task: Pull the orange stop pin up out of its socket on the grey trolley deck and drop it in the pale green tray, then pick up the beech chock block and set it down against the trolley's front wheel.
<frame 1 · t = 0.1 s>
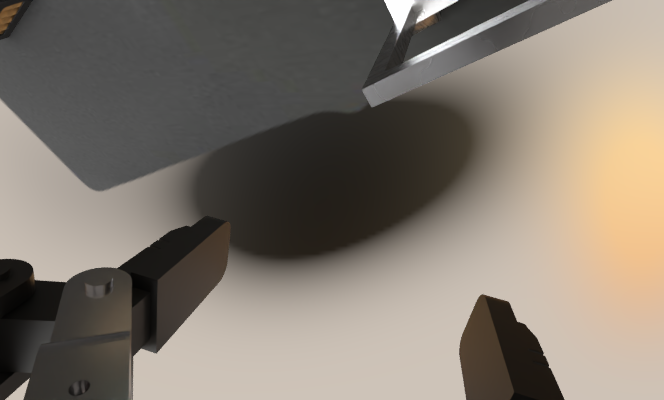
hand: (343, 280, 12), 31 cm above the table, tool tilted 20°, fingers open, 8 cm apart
ammunition clip: (17, 8, 46), on the table
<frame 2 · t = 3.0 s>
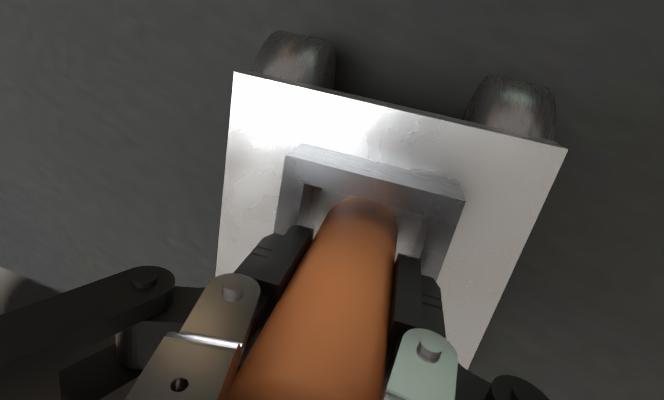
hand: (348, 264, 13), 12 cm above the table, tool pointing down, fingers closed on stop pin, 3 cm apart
trolley: (364, 227, 25), on the table
stop pin: (359, 232, 15), point 9 cm above the table, touching gripper, trolley
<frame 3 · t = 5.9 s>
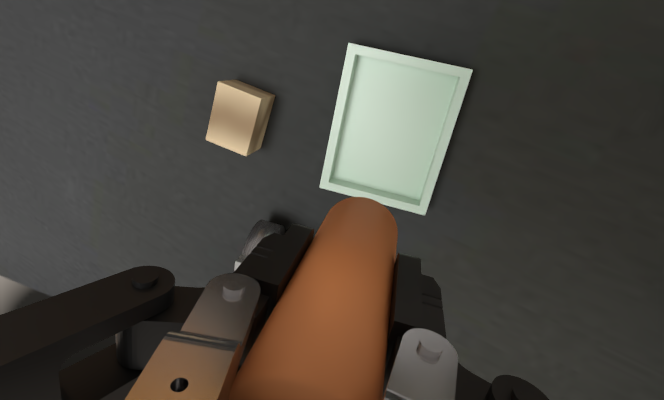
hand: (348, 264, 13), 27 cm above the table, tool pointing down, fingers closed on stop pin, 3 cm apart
trolley: (304, 299, 46), on the table
chock: (249, 114, 40), on the table
stop pin: (359, 231, 15), point 24 cm above the table, touching gripper
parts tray: (390, 129, 37), on the table
when the fingers open (7 cm above the table, at t = 8.5 s): stop pin drops 3 cm, resting on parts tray.
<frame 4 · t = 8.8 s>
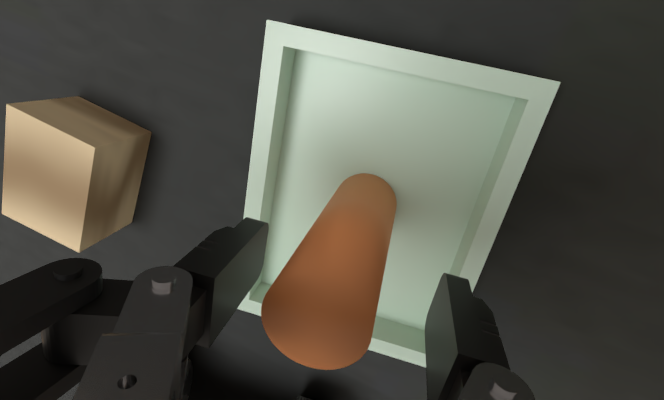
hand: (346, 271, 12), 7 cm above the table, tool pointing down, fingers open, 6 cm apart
chock: (108, 161, 21), on the table
stop pin: (365, 203, 18), point 1 cm above the table, touching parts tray
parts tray: (369, 198, 19), on the table
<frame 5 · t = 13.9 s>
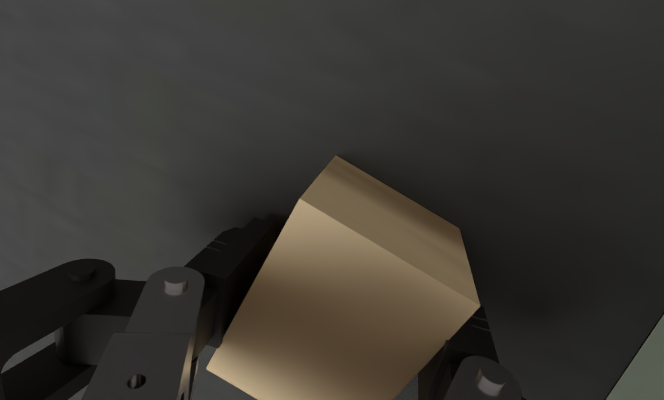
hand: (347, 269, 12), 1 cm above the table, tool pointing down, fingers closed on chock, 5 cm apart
chock: (350, 261, 13), on the table, touching gripper
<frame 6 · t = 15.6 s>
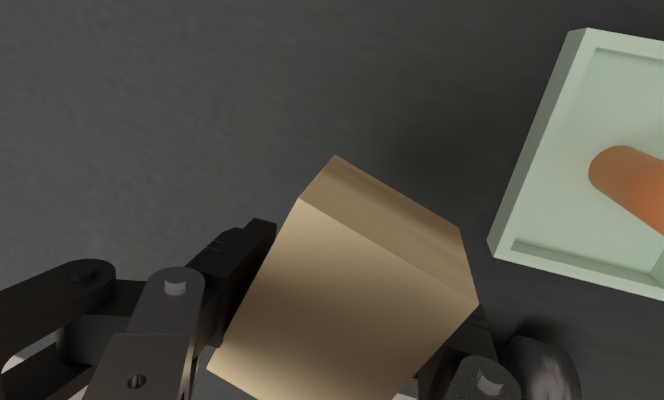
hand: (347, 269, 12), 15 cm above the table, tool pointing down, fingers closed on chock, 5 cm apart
trolley: (430, 398, 33), on the table
chock: (350, 260, 13), point 15 cm above the table, touching gripper
stop pin: (615, 169, 23), point 1 cm above the table, touching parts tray
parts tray: (611, 166, 23), on the table
when the fingers open (2 cm above the table, at t = 19.0 s): chock stays where it is, on the table.
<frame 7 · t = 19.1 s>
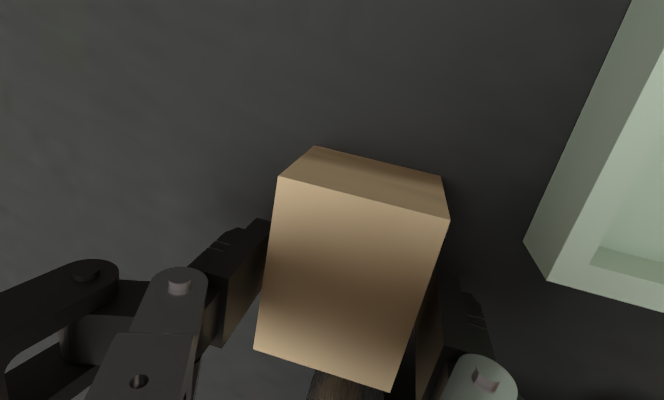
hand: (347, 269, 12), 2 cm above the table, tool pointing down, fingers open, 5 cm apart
chock: (358, 233, 14), on the table
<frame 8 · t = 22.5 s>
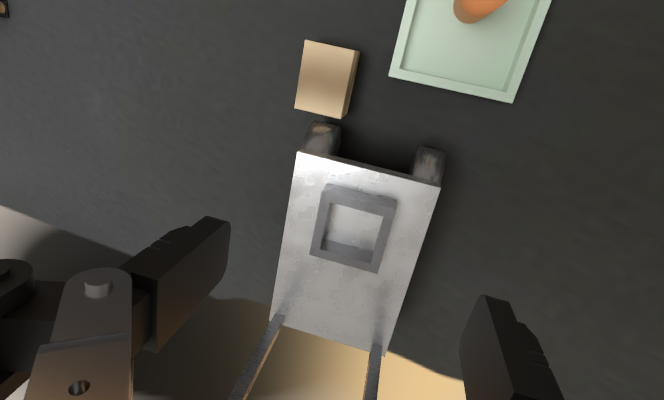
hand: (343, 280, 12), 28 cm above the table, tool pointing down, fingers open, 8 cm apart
trolley: (358, 222, 42), on the table
chock: (332, 78, 37), on the table
stop pin: (471, 4, 32), point 1 cm above the table, touching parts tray
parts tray: (471, 6, 32), on the table
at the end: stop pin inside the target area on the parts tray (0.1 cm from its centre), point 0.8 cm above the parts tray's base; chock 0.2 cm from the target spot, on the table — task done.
